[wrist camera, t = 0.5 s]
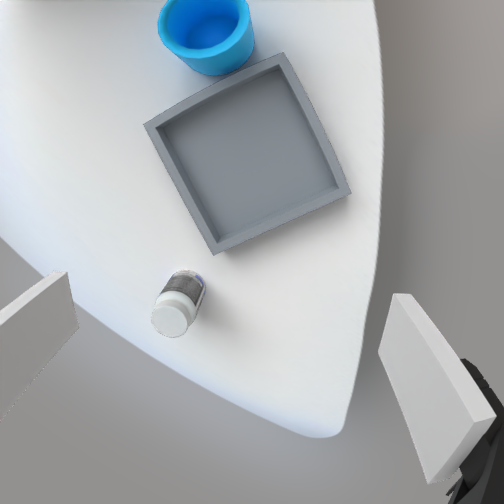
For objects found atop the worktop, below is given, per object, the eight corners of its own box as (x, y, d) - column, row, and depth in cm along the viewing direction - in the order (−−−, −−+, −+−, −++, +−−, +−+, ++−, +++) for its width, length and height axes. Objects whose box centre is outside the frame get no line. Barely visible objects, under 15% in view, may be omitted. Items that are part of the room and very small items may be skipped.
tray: (153, 125, 33) (143, 124, 30) (282, 59, 29) (283, 51, 27) (217, 246, 37) (213, 255, 34) (345, 188, 34) (351, 193, 31)
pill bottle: (165, 270, 39) (141, 303, 31) (201, 267, 38) (184, 300, 30) (174, 304, 40) (154, 341, 32) (209, 301, 40) (195, 340, 32)
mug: (263, 64, 30) (261, 42, 22) (191, 85, 31) (168, 71, 23) (234, -20, 26) (225, -55, 18) (167, 1, 27) (142, -27, 19)
